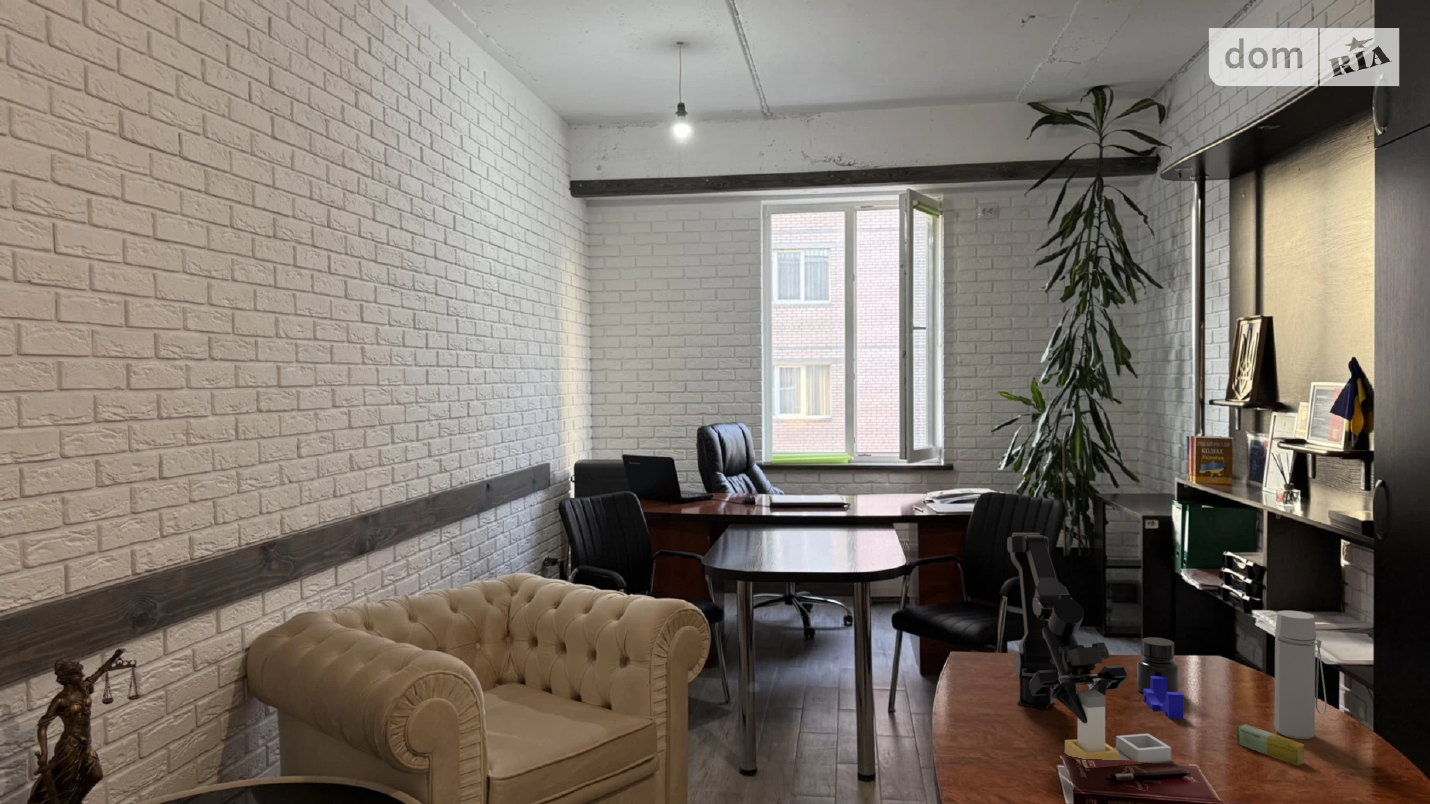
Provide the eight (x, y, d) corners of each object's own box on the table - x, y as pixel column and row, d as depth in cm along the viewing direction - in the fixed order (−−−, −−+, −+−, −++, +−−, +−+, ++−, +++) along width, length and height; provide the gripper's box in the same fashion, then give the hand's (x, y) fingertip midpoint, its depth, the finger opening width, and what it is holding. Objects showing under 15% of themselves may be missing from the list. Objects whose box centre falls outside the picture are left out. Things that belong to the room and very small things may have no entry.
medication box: (1235, 744, 183) (1235, 725, 183) (1244, 742, 185) (1243, 722, 184) (1297, 767, 173) (1297, 746, 172) (1305, 764, 174) (1305, 743, 174)
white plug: (1087, 754, 173) (1087, 697, 173) (1077, 746, 177) (1077, 690, 177) (1105, 752, 174) (1105, 696, 174) (1094, 745, 178) (1094, 689, 177)
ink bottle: (1182, 689, 215) (1183, 639, 214) (1179, 701, 207) (1179, 649, 207) (1138, 682, 220) (1138, 633, 220) (1132, 693, 212) (1132, 643, 212)
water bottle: (1278, 738, 185) (1278, 617, 185) (1270, 724, 193) (1270, 608, 192) (1331, 744, 182) (1331, 621, 181) (1321, 730, 189) (1321, 611, 189)
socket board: (1086, 772, 171) (1086, 755, 171) (1063, 754, 179) (1063, 739, 179) (1172, 764, 174) (1172, 748, 174) (1146, 747, 182) (1146, 732, 182)
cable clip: (1143, 701, 208) (1143, 675, 208) (1164, 702, 207) (1164, 676, 207) (1161, 721, 196) (1161, 693, 196) (1183, 722, 195) (1183, 694, 195)
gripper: (1035, 630, 177) (1066, 706, 167) (1123, 625, 180) (1158, 699, 170) (1016, 658, 185) (1044, 732, 175) (1100, 652, 188) (1132, 725, 178)
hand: (1095, 721), depth 174 cm, fingers closed on white plug, 4 cm apart
